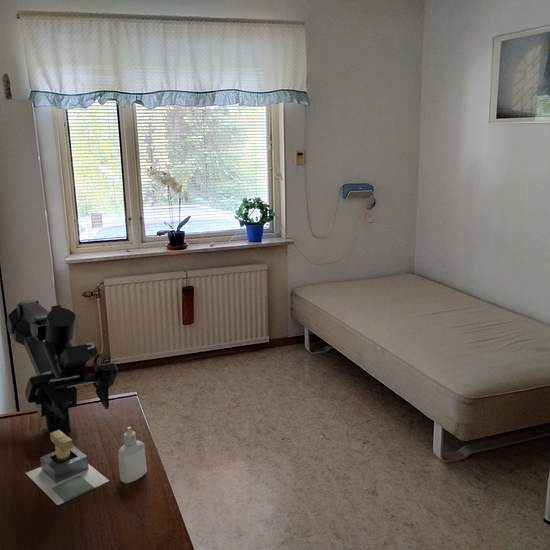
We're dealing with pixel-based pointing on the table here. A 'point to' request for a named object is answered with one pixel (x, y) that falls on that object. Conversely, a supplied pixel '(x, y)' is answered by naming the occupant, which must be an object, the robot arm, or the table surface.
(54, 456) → the grey square frame
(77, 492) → the mat
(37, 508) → the table surface
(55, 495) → the board
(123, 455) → the eye dropper bottle
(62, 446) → the tan flat lever
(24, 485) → the table surface
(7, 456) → the table surface
